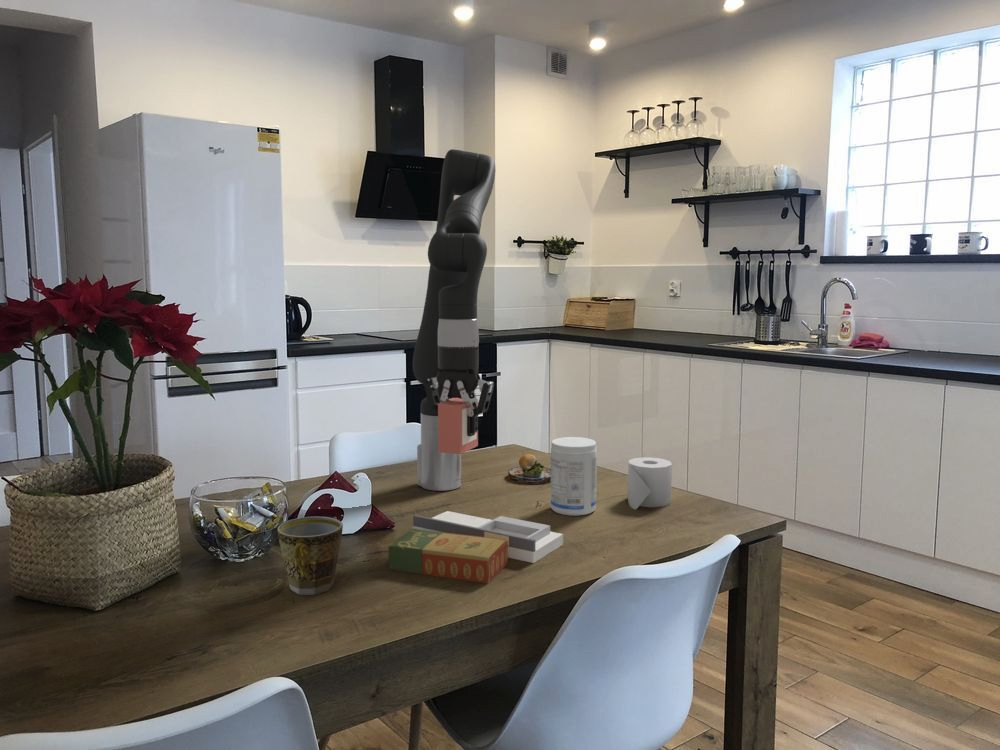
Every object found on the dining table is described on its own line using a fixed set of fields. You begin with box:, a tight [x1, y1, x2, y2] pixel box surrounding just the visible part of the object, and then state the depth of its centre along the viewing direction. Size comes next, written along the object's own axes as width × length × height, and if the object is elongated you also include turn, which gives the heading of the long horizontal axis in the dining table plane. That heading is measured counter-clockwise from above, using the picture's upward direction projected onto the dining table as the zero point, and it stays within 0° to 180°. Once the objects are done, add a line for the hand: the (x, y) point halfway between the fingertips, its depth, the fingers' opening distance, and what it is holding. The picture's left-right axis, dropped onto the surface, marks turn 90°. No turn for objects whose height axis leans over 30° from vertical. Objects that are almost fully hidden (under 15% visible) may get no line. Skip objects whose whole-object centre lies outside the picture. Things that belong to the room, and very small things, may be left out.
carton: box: [387, 528, 509, 584], centre depth 137 cm, size 10×18×5 cm, turn 70°
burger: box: [507, 450, 551, 485], centre depth 194 cm, size 12×12×8 cm
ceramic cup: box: [277, 515, 344, 596], centre depth 126 cm, size 13×10×10 cm
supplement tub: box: [550, 436, 598, 517], centre depth 168 cm, size 10×10×15 cm
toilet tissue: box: [627, 456, 673, 511], centre depth 173 cm, size 9×13×9 cm
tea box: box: [438, 398, 479, 455], centre depth 150 cm, size 5×8×9 cm, turn 156°
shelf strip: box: [412, 510, 564, 564], centre depth 150 cm, size 26×11×4 cm, turn 58°
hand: (458, 433), depth 150 cm, fingers closed on tea box, 4 cm apart
